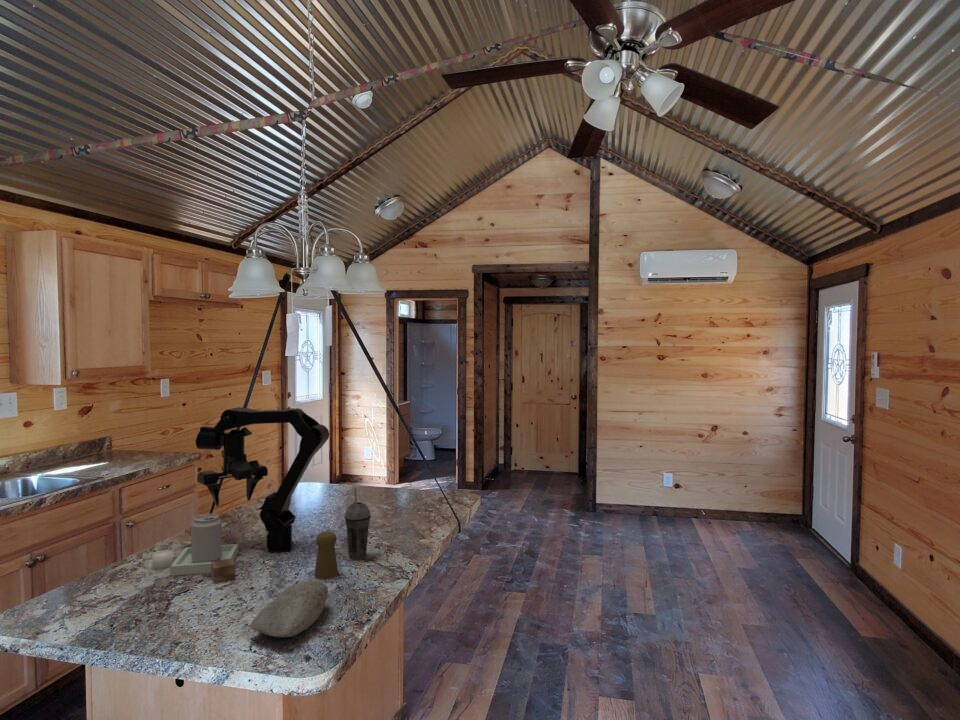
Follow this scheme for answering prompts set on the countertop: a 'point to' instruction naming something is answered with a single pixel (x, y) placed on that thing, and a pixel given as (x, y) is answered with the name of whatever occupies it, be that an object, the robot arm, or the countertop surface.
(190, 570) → the tray
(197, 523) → the can
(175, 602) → the countertop surface
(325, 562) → the cork
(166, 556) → the off-white egg
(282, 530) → the robot arm
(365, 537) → the beverage cup
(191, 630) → the countertop surface
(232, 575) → the walnut block
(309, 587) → the rock
